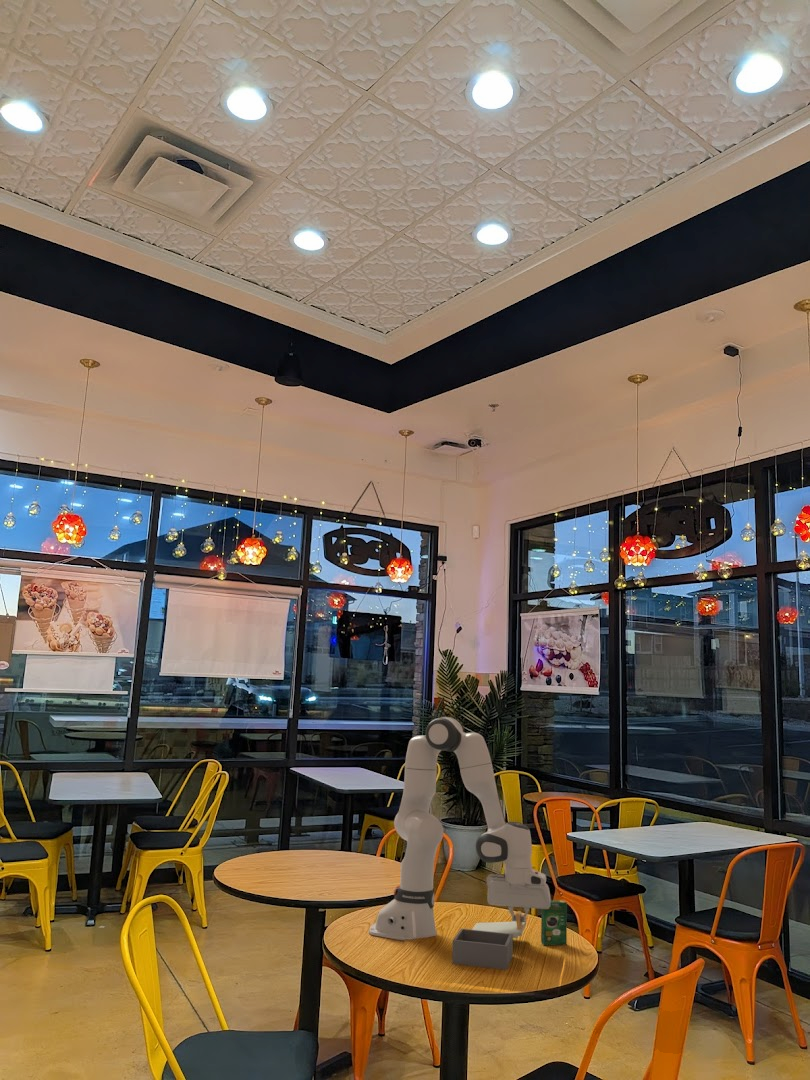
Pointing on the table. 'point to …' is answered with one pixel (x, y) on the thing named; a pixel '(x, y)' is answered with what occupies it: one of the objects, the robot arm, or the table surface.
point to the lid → (504, 926)
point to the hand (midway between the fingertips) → (519, 921)
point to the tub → (483, 949)
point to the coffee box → (554, 924)
